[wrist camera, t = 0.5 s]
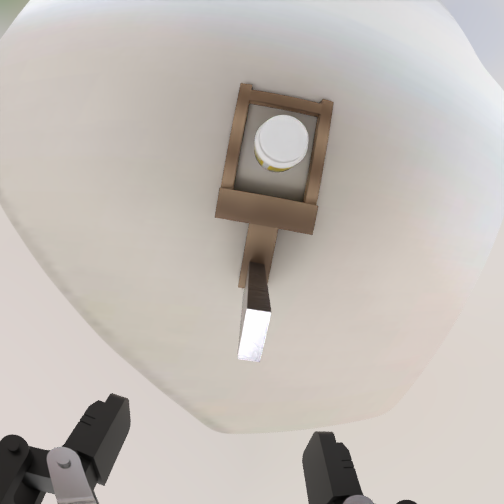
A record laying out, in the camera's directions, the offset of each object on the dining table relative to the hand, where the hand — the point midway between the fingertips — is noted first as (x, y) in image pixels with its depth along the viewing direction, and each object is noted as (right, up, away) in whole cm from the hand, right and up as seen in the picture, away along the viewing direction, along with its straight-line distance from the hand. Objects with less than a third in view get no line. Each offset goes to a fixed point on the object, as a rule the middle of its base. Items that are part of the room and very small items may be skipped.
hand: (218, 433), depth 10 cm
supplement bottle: (+4, +18, +20) cm, 27 cm away
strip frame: (+3, +14, +20) cm, 25 cm away
